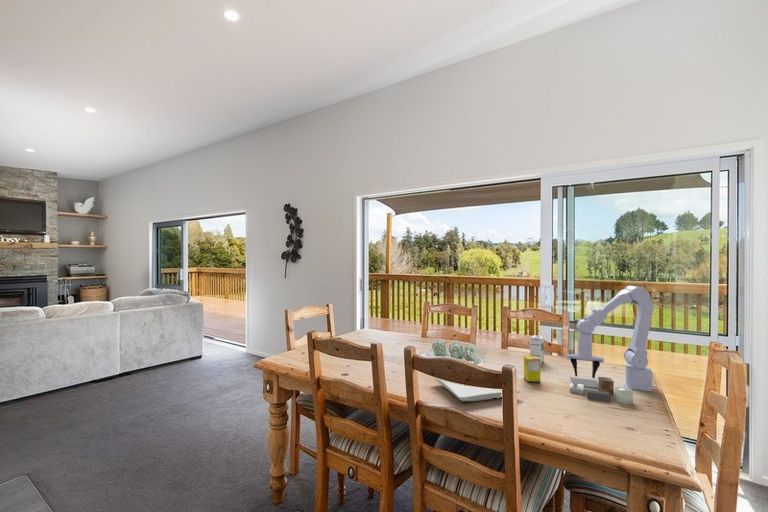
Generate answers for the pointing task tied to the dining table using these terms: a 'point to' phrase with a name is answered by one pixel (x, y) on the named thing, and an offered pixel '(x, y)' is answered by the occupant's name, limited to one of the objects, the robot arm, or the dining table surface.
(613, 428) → the dining table surface
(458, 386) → the square plate
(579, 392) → the grey topped wooden block
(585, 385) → the slate coaster
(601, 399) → the charcoal rubber bar
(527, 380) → the supplement box
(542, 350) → the syrup box
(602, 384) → the walnut block
